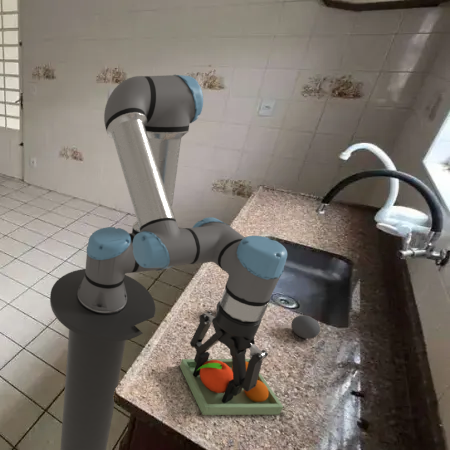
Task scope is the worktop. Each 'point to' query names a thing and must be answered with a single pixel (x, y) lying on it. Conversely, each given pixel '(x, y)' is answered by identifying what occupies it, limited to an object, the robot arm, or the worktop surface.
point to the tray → (213, 401)
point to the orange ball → (258, 392)
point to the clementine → (216, 375)
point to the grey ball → (305, 326)
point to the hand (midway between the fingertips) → (212, 386)
